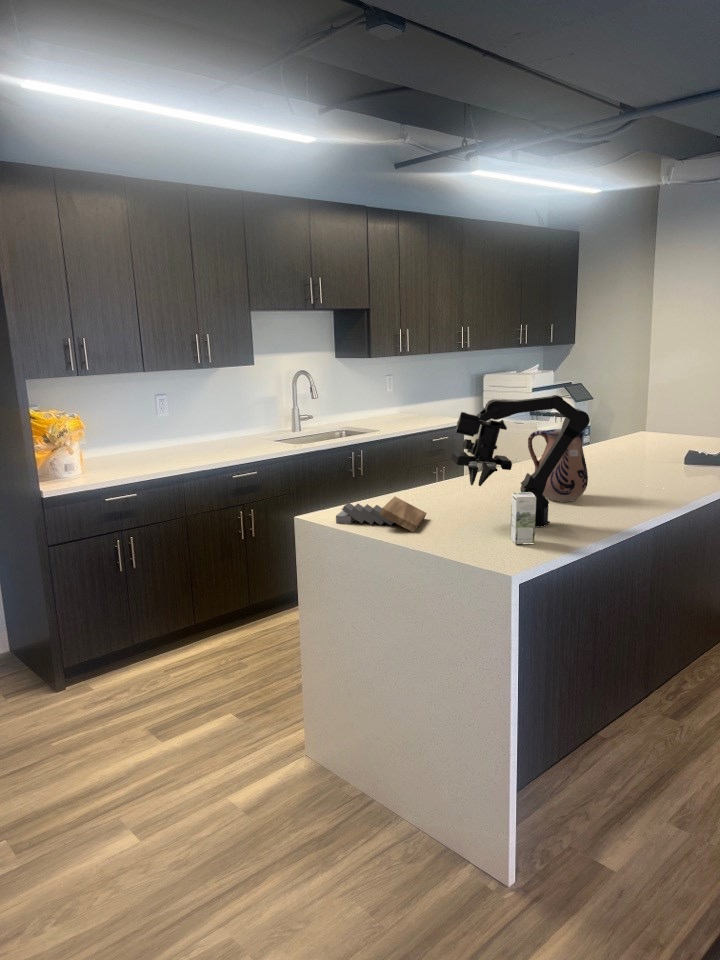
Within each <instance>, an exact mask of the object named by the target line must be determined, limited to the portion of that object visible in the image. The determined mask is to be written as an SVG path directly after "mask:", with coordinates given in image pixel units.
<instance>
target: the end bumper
mask: <svg viewBox="0 0 720 960" xmlns="http://www.w3.org/2000/svg"><path fill="white" fill-rule="evenodd" d="M354 520H355V521H357V520H356V519H354V518H353V517H351V516H350V515H348V514H347V513H345V512H344V511H343V510H341V511H340V512H339V513H337V514H336V515H335V524H343V523H349V524H348V525H351V524H353V523H354V522H353V521H354Z"/></svg>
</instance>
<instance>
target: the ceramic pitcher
mask: <svg viewBox="0 0 720 960" xmlns="http://www.w3.org/2000/svg"><path fill="white" fill-rule="evenodd" d="M561 429H562V428H560V429H559V428H558V429H557V428H555V429H547V430H541V429H540V430H535V431H533V432H531V433H530V434H529V436H528V439H527V448H528V452H529V454H530V455H529V456H530V457H531V460H532V462H533V464H534V472H535V471H536V470H537V469H538V467H539V466H540V464H541V462H542V461H543V459H544V458H545V456H546V455H547V453H548V451H549V450H550V448H551V447H552V445H553V444H554V442H555V440H556V439H557V437H558V436H559V434H560V432H561ZM537 436H541V437H543V438H544V440H545V442H546V446H545V447H544V449H543V453H542V455H541V457H540V459H539V460H538V458H537V455H536V453H535V451H534V448H533V440H534V438H535V437H537ZM583 437H584V431H582V432H581V434H579V435H578V436H577V437H576V438H574V439H573V440H572V442H571V443H570V445H569V446H568V448H567V449H566V451H565V453H564V454H563V456H562V457H561V459H560V460H559V462H558V463H557V465H556V467H555V468H554V470H553V471H552V473H551V474H550V476H549V477H548V480H547V483H546V487H545V490H544V492H543V495H544V496H545V497H546V499H547V500H548V501H553V500H554V501H553V502H559V501H568V502H573V501H576V500H577V499H579V498H580V497H581V496H582V495H583V494H584V492H585V491H586V490H587V487H588V482H589V476H588V468H587V462H586V459H585V454H584V449H583ZM575 499H576V500H575ZM572 500H573V501H572Z"/></svg>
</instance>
